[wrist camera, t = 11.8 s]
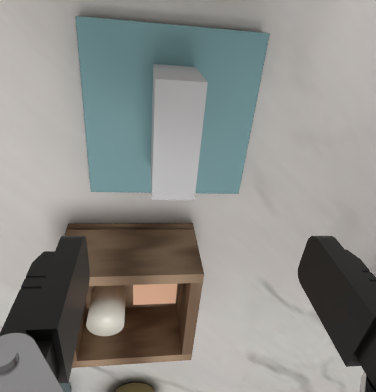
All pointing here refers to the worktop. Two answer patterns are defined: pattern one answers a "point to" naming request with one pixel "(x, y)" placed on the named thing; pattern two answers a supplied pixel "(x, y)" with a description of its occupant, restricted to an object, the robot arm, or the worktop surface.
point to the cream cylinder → (106, 310)
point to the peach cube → (154, 294)
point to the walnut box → (142, 275)
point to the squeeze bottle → (135, 388)
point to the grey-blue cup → (65, 387)
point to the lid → (167, 105)
